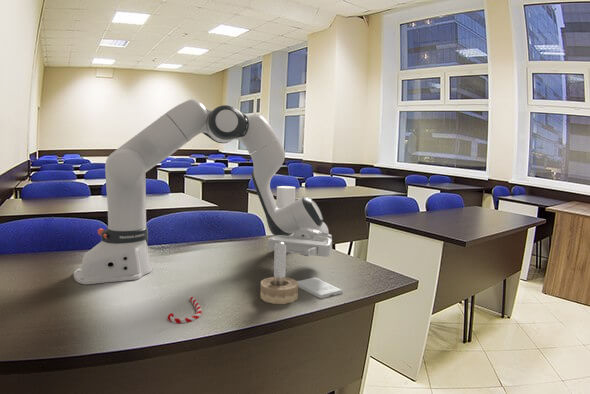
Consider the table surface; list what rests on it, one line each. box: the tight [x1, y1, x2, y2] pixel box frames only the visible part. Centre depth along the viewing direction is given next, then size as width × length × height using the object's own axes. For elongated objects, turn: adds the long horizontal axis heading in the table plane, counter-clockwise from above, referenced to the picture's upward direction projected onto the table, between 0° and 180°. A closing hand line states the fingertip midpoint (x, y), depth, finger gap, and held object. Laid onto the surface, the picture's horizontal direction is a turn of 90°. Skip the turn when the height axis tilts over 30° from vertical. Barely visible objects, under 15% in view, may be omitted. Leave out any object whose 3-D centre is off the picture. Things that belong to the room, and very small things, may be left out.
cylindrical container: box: [275, 185, 296, 254], centre depth 163 cm, size 7×7×25 cm
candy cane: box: [167, 296, 202, 324], centre depth 105 cm, size 8×1×15 cm
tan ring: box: [260, 276, 299, 305], centre depth 116 cm, size 10×10×4 cm
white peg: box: [273, 242, 287, 286], centre depth 115 cm, size 3×3×16 cm
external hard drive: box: [296, 277, 344, 299], centre depth 123 cm, size 2×8×12 cm
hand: (291, 251), depth 123 cm, fingers open, 8 cm apart
